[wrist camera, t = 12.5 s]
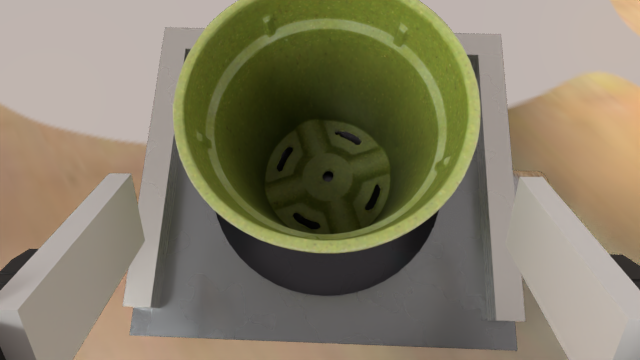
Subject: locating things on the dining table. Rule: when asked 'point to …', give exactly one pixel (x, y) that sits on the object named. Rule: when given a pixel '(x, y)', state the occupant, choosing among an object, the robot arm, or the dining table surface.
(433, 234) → the gray open-top box
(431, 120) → the plant pot
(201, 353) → the dining table surface
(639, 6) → the dining table surface
